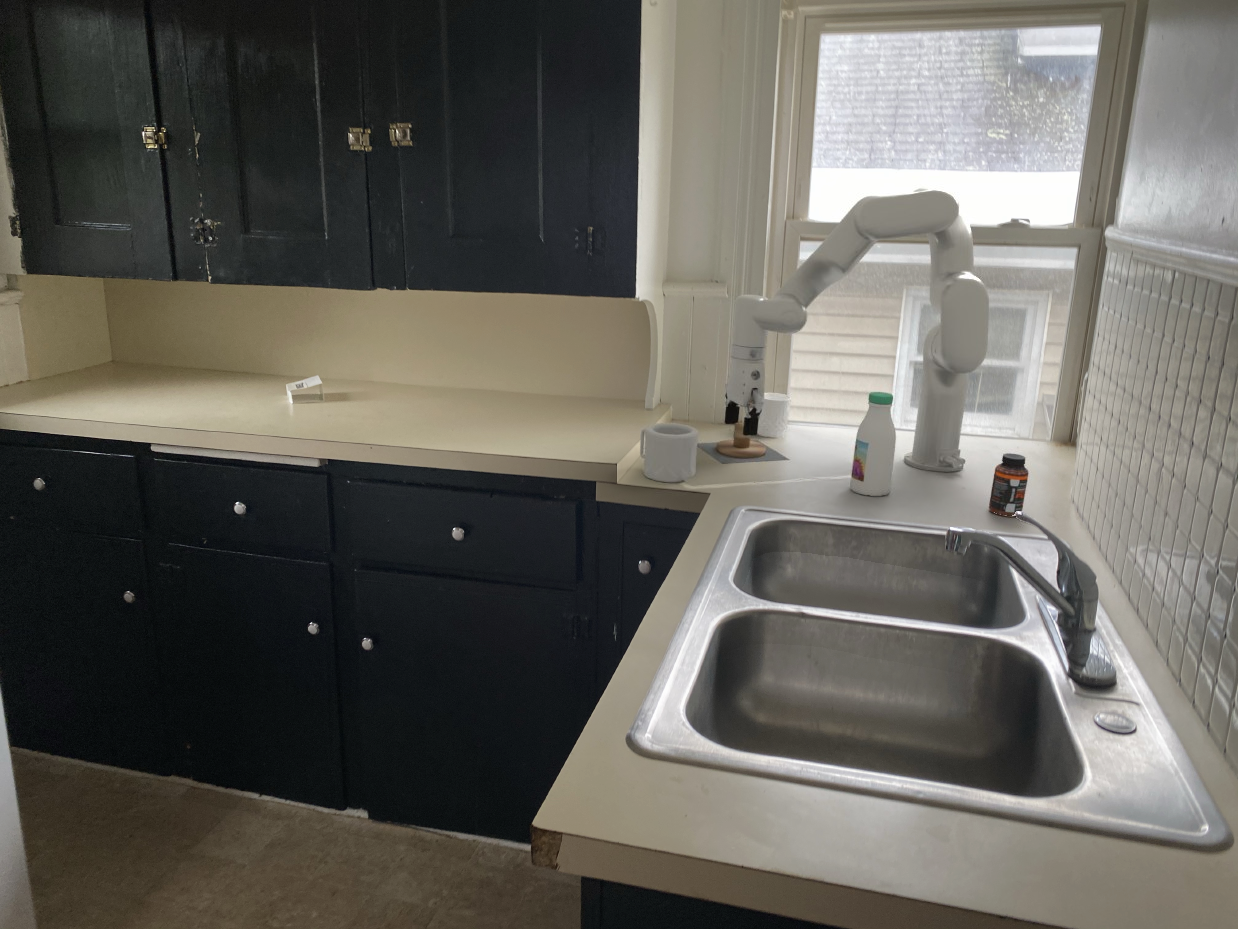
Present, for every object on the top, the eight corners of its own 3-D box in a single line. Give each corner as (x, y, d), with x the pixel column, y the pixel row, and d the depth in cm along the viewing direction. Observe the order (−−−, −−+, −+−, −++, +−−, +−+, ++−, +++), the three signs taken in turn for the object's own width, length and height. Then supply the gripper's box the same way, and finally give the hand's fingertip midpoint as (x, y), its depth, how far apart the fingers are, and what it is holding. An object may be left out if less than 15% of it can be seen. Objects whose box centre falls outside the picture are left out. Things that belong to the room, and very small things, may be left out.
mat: (789, 463, 209) (789, 459, 209) (722, 467, 205) (722, 463, 204) (757, 443, 224) (757, 440, 224) (693, 446, 219) (694, 443, 219)
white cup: (786, 442, 226) (790, 401, 223) (753, 439, 227) (756, 398, 224) (787, 434, 233) (791, 394, 230) (755, 431, 235) (758, 391, 232)
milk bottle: (890, 488, 195) (902, 392, 189) (888, 499, 188) (900, 399, 182) (852, 483, 197) (863, 387, 191) (847, 494, 190) (859, 395, 184)
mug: (705, 476, 198) (709, 429, 195) (672, 487, 190) (675, 438, 187) (656, 461, 207) (658, 416, 204) (622, 471, 199) (624, 424, 196)
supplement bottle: (1018, 520, 179) (1028, 462, 176) (985, 513, 182) (994, 456, 179) (1024, 511, 184) (1033, 455, 181) (991, 505, 187) (1000, 449, 184)
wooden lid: (774, 456, 211) (776, 429, 209) (728, 459, 207) (730, 432, 206) (752, 443, 221) (754, 417, 219) (708, 445, 217) (710, 419, 215)
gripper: (781, 360, 201) (773, 439, 206) (746, 345, 217) (739, 419, 222) (749, 360, 199) (741, 440, 204) (716, 345, 214) (709, 419, 219)
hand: (740, 429), depth 213 cm, fingers open, 9 cm apart
